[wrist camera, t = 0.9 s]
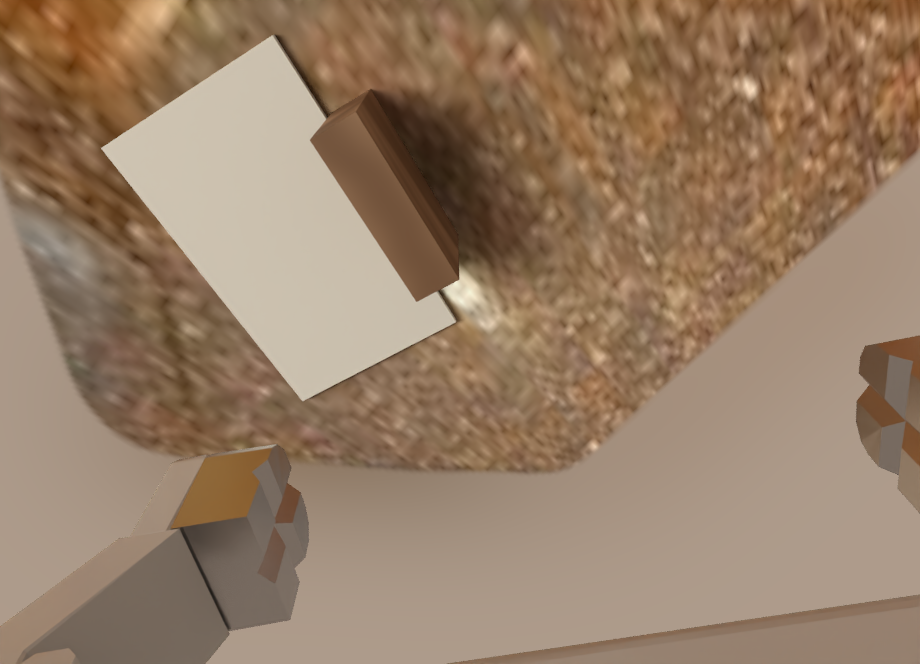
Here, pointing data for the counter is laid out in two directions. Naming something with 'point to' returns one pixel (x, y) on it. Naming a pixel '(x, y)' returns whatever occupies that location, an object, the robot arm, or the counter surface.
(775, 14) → the counter surface
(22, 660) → the robot arm
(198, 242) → the mat
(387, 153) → the block
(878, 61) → the counter surface
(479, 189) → the counter surface
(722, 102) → the counter surface
